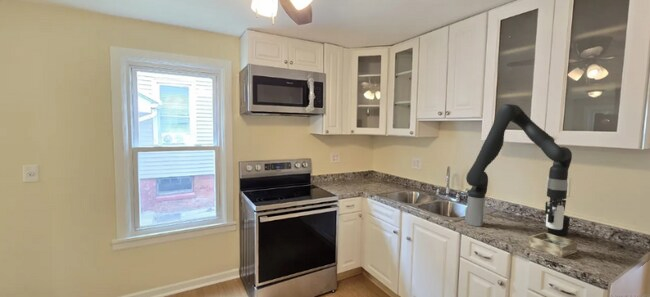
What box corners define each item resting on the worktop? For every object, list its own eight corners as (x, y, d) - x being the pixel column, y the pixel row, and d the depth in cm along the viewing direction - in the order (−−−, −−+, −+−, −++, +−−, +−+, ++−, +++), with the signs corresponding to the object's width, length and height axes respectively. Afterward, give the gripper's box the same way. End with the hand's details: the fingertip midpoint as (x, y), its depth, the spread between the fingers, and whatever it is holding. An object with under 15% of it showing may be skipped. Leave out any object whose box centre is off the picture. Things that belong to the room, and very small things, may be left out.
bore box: (528, 246, 144) (529, 236, 144) (543, 241, 150) (544, 232, 150) (561, 257, 131) (562, 247, 131) (576, 252, 138) (577, 242, 137)
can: (554, 225, 143) (556, 202, 142) (566, 230, 137) (568, 205, 136) (542, 225, 143) (544, 201, 142) (553, 230, 137) (555, 205, 136)
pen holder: (564, 237, 156) (566, 220, 155) (544, 232, 163) (545, 215, 163) (570, 234, 161) (572, 217, 160) (550, 229, 169) (552, 212, 168)
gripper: (555, 185, 145) (553, 217, 146) (540, 187, 138) (537, 221, 140) (574, 188, 138) (570, 221, 140) (558, 190, 132) (555, 226, 133)
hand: (554, 221), depth 140 cm, fingers closed on can, 6 cm apart
